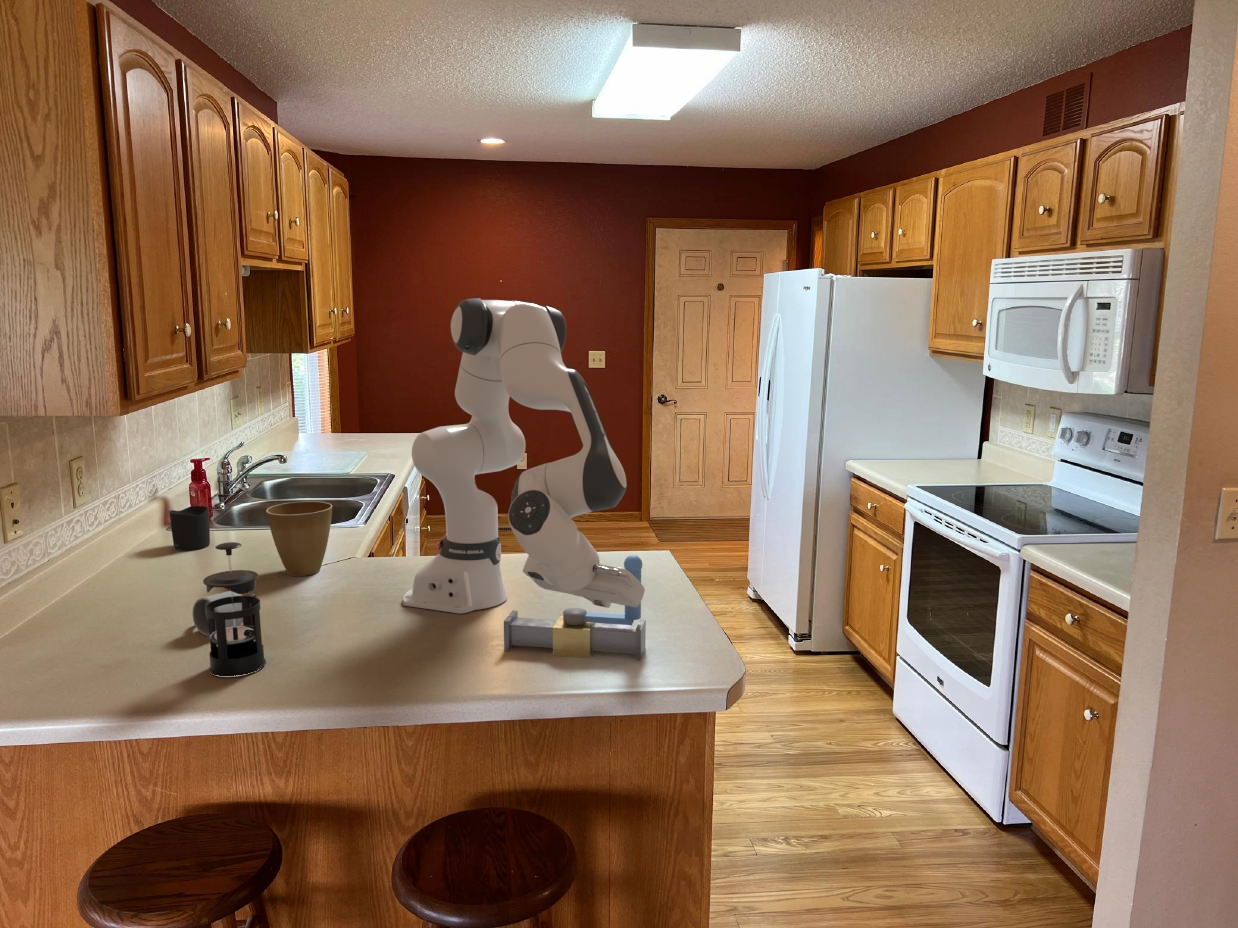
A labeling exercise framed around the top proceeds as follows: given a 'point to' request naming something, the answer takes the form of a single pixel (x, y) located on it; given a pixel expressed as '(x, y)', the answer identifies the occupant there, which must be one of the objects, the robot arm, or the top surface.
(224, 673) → the french press
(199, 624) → the ceramic mug
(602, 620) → the lever
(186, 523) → the pen holder
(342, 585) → the top surface
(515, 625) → the valve pipe
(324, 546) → the plant pot
